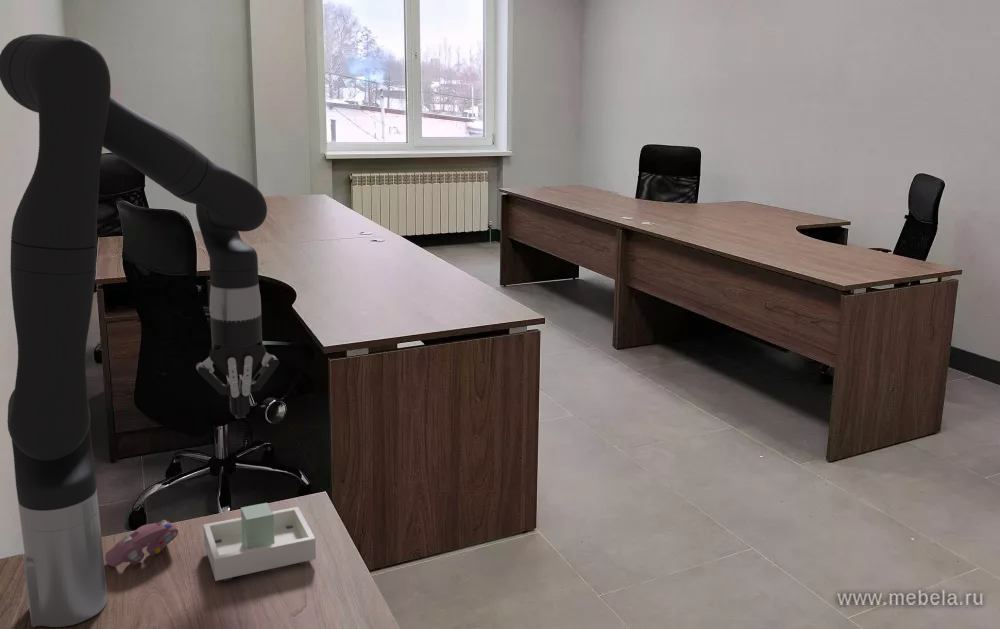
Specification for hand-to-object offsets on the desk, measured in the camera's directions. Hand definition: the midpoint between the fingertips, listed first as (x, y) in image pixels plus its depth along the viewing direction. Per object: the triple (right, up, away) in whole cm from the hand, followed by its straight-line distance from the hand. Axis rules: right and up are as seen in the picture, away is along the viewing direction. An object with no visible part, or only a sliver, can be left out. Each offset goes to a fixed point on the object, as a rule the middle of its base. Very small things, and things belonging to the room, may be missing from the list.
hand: (240, 416), depth 132 cm
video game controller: (-13, -21, -6) cm, 25 cm away
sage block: (+5, -19, -6) cm, 21 cm away
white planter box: (+5, -21, -5) cm, 22 cm away
